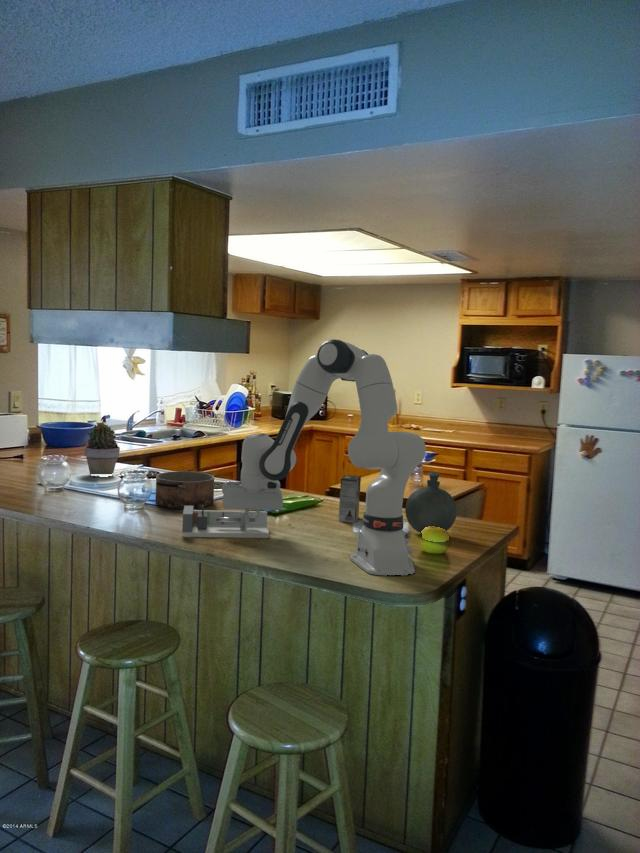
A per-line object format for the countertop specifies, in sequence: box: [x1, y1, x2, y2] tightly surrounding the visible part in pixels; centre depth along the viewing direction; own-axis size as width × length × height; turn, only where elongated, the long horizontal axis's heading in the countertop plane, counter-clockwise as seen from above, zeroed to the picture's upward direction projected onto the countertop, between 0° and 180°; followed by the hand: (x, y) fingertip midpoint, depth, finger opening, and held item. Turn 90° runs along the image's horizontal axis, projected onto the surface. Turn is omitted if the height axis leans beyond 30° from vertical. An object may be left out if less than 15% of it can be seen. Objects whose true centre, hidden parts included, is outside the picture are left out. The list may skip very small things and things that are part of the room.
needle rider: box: [197, 505, 207, 529], centre depth 229 cm, size 5×3×7 cm, turn 9°
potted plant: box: [83, 422, 121, 475], centre depth 316 cm, size 18×20×25 cm
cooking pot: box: [155, 470, 215, 510], centre depth 271 cm, size 30×22×11 cm
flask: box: [404, 471, 458, 534], centre depth 242 cm, size 12×17×22 cm
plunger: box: [216, 509, 246, 530], centre depth 231 cm, size 6×10×5 cm, turn 99°
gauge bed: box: [181, 506, 270, 539], centre depth 230 cm, size 12×28×8 cm, turn 99°
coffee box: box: [338, 474, 362, 523], centre depth 258 cm, size 9×6×16 cm
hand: (251, 522), depth 232 cm, fingers closed
